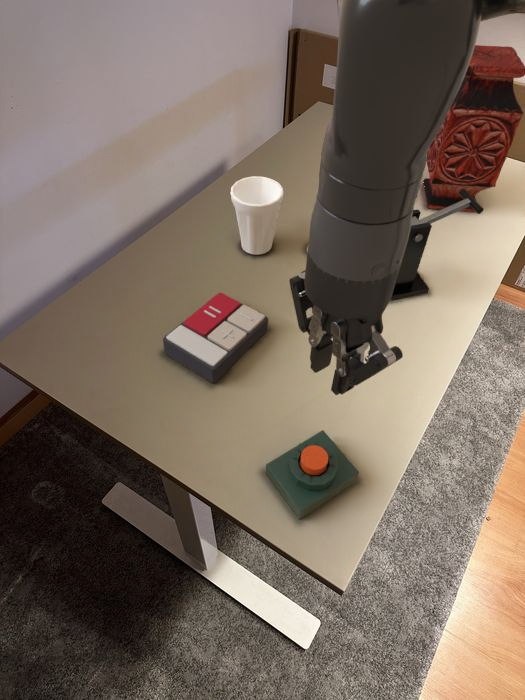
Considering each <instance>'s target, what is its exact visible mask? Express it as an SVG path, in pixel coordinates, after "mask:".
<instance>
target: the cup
mask: <svg viewBox="0 0 525 700" xmlns="http://www.w3.org/2000/svg"><path fill="white" fill-rule="evenodd" d="M230 199H231V200H230V201H231V203H232V205H233V207H234V210H235V214H236V220H237V225H238V232H239V238H240V242H241V244H240V245H241V249H242V250H243V251H244V252H245V253H247V254H250V255H255V256H256V255H257V256H260V255H263V254H266V253H267V252H270V250H271V249H272V247H273V243H274V238H275V233H276V229H277V225H278V220H279V215H280V210H281V206H282V203H283V199H284V188H283V186H282V185H281V183H279V181H276V180H274V179H273V178H269V177H266V176H258V175H257V176H256V175H253V176H248V177H243V178H241V179H239V180H237V181H235V182H234V183H233V185H232V186H231V187H230Z"/></svg>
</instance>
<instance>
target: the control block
mask: <svg viewBox="0 0 525 700" xmlns="http://www.w3.org/2000/svg"><path fill="white" fill-rule="evenodd" d="M311 445H316V446H320V447H322V448H323V449H324V450H325V451H326V452H327V454H328V464H327V468H326V470H325V471H324V472H323V473H322V474H320V475H316V476H313V475H309V474H307V473H305V472H304V471H303V469H302V468H301V465H300V459H301V454H302V451H303V450H304V449H305V448H306V447H308V446H311ZM265 475H266V476H267V478H268V479H269V480H270V482H271V483H272V484H273V486H274V487H275V488H276V490H277V491H278V493H279V494H280V495H281V497H282V498H283V500H284V501H285V502H286V504H287V505H288V507H289V508H290V509H291V510H292V512H293V513H294V515H295V516H296V518H297V519H298V520H301V519H303V518H304V517H306V516H307V515H309V514H310V513H312V512H313V511H315V510H316V509H317V508H319V507H321V506H322V505H323V504H324V503H326V502H328V501H329V500H331V499H333V498H334V497H335V496H337V495H338V494H339V493H341V492H343V491H344V490H346V489H347V488H349V487H350V486H352V485H353V484H355V483H356V482H357V481H358V478H359V475H360V471H359V469H357V468H356V467H355V465H354V464H353V463H352V462H351V460H350V459H349V458H348V457H347V456H346V455H345V454H344V453H343V451H342V450H341V449H340V447H338V446H337V444H336V443H335V442H334V441H333V439H332V438H331V437H330V436H329V435H328V434H327V433H326V432H325V430H324V429H322V430H320V431H319V432H317V433H316V434H314V435H312V436H311V437H309V438H308V439H306V440H303V441H302V442H300V443H299V444H298V445H296V446H294V447H292V448H291V449H288V451H286V452H284V453H282V454H281V455H280V456H278V457H276V458H274V459H273V460H271V461H270V462H268V463H266V464H265Z"/></svg>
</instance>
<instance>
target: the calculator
mask: <svg viewBox="0 0 525 700" xmlns="http://www.w3.org/2000/svg"><path fill="white" fill-rule="evenodd" d="M268 327H269V317H267V316H266V315H264V314H263V313H261V312H259V311H257V310H255V309H254V308H251V307H249V306H247V305H245V304H243V303H241V302H240V301H238V300H236V299H234V298H233V297H230V296H229V295H227V294H225V293H223V292H218V293H216V294H215V295H214V296H213V297H211V298H210V299H209V300H208V301H207V302H205V303H204V304H203V305H202V306H201V307H199V308H198V309H197V310H195V312H193V313H192V314H191V315H189V316H188V317H187V318H186V319H185V320H183V321H182V322H180V323H179V324H178V325H177V326H176V327H175V328H173V329H172V330H171V331H170V332H168V333H167V334H166V335H165V336H164V337H162V342H163V351H164V354H165V355H166V356H168V357H169V358H172V360H174V361H176V362H177V363H179V364H181V365H182V366H183V367H185V368H187V369H188V370H191V371H192V372H194V373H195V374H197V375H198V376H200V377H202V378H203V379H205V380H207V381H208V382H210V383H212V384H216V383H217V382H218V381H219V380H221V378H222V377H224V375H225V374H227V373H228V372H229V371H230V369H231V368H232V365H234V363H236V362H237V360H238V359H240V358H241V357H242V356H243V355H244V354H245V353H246V352H247V351H248V350H249V349H250V348H251V347H252V346H253V345H254V344H255V343H256V342H257V341H258V340H259V339H260V338H261V337H262V336H263V335H264V334H266V333H267V332H268Z"/></svg>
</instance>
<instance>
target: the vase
mask: <svg viewBox="0 0 525 700" xmlns="http://www.w3.org/2000/svg"><path fill="white" fill-rule="evenodd" d="M523 77H525V64H524V62H523V61H522V58H520V56H518V53H517V51H516V49H515V48H514V47H512V46H500V45H481V44H480V45H478V44H477V45H476V44H475V47H474V51H473V54H472V57H471V60H470V63H469V66H468V69H467V72H466V74H465V77H464V79H463V82H462V84H461V86H460V88H459V91H458V93H457V95H456V97H455V99H454V101H453V103H452V105H451V107H450V109H449V112H448V114H447V116H446V118H445V120H444V122H443V124H442V126H441V128H440V130H439V132H438V134H437V136H436V137H435V139H434V141H433V142H432V144H431V146H430V148H429V150H428V155H427V160H426V166H427V172H428V175H429V178H424V179H423V180H422V188H423V192H424V193H423V194H424V198H425V204H426V208H428V209H429V210H430V209H431V210H442V209H444V208H447V207H449V206H451V205H453V204H456V203H458V202H460V201H462V200H464V199H463V198H462V197H461V196H460V195H459V191H460V190H461V189H465V190H466V191H467V192H468V193H469V194H470V195H471V196H472V197H473V198H474V199H475V200H476V195H478V194H479V193H480V192H483V191H484V190H488V189H490V188H495V187H496V185H497V182H498V179H499V176H500V174H501V171H502V169H503V167H504V164H505V162H506V160H507V156H508V153H509V150H510V149H511V147H512V144H513V141H514V138H515V135H516V131H517V128H518V127H519V124H520V122H521V119H522V118H523V116H524V111H523V109H522V107H521V105H520V104H519V101H518V99H517V96H516V94H515V90H514V89H515V88H514V81H515V80H514V79H521V78H523ZM423 182H424V183H423ZM424 186H425V187H424ZM476 201H477V200H476ZM459 212H472V213H473V212H475V211H474V209H473V208H472V207H471V206H469V207H467V208H465V209H462V210H460V211H459Z"/></svg>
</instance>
